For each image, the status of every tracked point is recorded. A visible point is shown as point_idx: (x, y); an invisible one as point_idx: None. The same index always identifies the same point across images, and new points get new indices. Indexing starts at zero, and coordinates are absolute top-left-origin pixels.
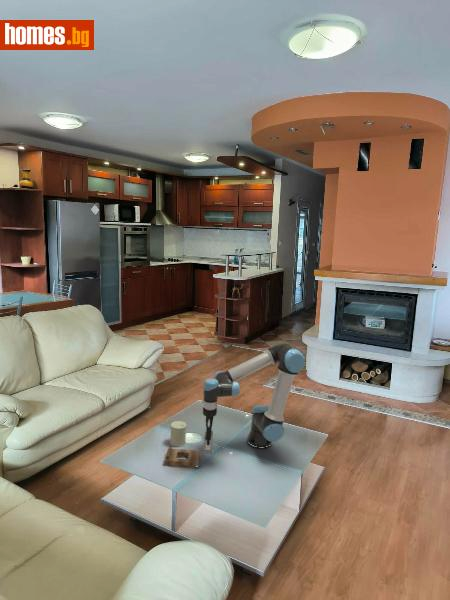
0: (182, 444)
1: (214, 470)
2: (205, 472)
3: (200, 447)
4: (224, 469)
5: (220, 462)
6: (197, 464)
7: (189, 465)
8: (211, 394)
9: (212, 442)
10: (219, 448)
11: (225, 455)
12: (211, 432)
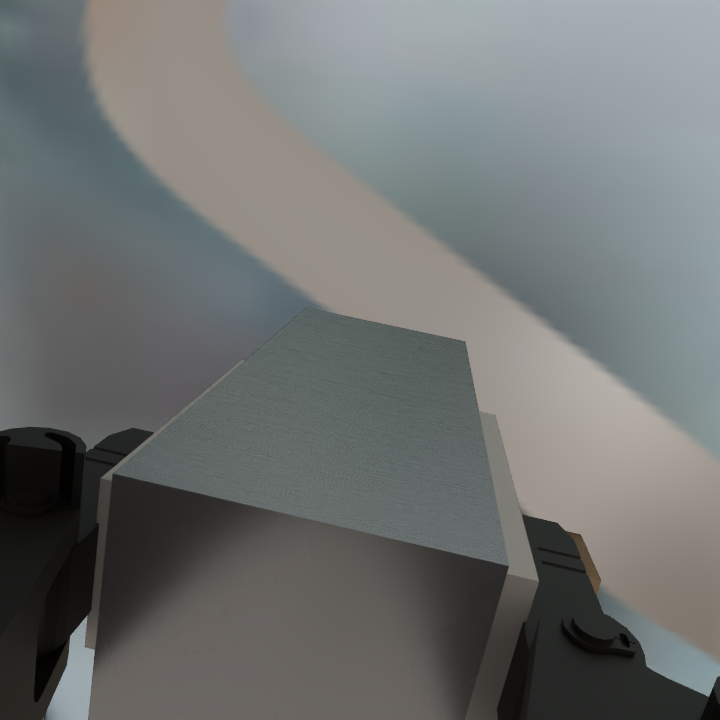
0: None
1: (680, 293)
2: (710, 441)
3: (41, 412)
4: (680, 115)
5: (463, 155)
6: (591, 571)
7: None
8: None
9: (301, 363)
10: (49, 107)
11: (258, 28)
12: (147, 547)
